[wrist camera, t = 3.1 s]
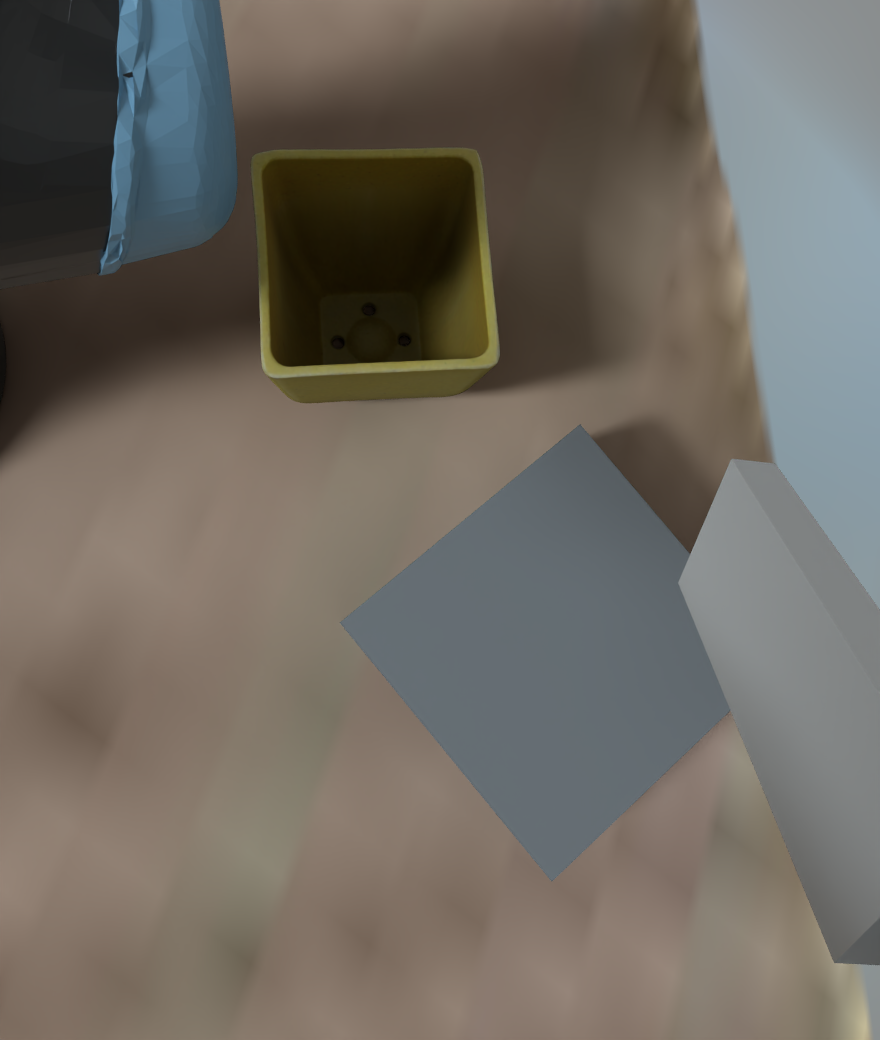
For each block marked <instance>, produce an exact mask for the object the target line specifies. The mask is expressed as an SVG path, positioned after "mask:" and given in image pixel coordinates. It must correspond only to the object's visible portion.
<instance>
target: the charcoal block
mask: <svg viewBox="0 0 880 1040" xmlns="http://www.w3.org/2000/svg"><path fill="white" fill-rule="evenodd" d="M689 556H690V554H689V552H688V551H687V550H686V549H685V548H684V546H683V545H682V544H681V543H680V542H679V541H678V539H677V538H676V537H675V536H674V535H673V534H672V532H671V531H670V530H669V529H668V528H667V526H666V525H665V524H664V523H663V522H662V521H661V519H660V518H659V517H658V516H657V515H656V513H655V512H654V511H653V510H652V509H651V508H650V506H649V505H648V504H647V503H646V502H645V500H644V499H643V498H642V497H641V496H640V495H639V493H638V492H637V491H636V490H635V489H634V487H633V486H632V485H631V484H630V483H629V482H628V480H627V479H626V478H625V477H624V476H623V474H622V473H621V472H620V471H619V470H618V469H617V467H616V466H615V465H614V464H613V463H612V461H611V460H610V459H609V458H608V457H607V456H606V454H605V453H604V452H603V451H602V450H601V448H600V447H599V446H598V445H597V444H596V443H595V441H594V440H593V439H592V438H591V437H590V435H589V434H588V433H587V432H586V431H585V430H584V428H583V427H582V426H581V425H579V426H577V427H576V428H575V429H574V430H573V431H571V432H570V433H569V434H568V435H566V436H565V437H564V438H563V439H562V440H560V441H559V442H558V443H557V444H556V445H554V446H553V447H552V448H551V449H550V450H548V451H547V452H546V453H545V454H543V455H542V456H541V457H540V458H539V459H537V460H536V461H535V462H534V463H533V464H531V465H530V466H529V467H528V468H527V469H525V470H524V471H523V472H522V473H520V474H519V475H518V476H517V477H516V478H514V479H513V480H512V481H511V482H510V483H508V484H507V485H506V486H505V487H504V488H502V489H501V490H500V491H499V492H497V493H496V494H495V495H494V496H493V497H491V498H490V499H489V500H488V501H487V502H485V503H484V504H483V505H482V506H481V507H479V508H478V509H477V510H476V511H474V512H473V513H472V514H471V515H470V516H468V517H467V518H466V519H465V520H464V521H462V522H461V523H460V524H459V525H458V526H456V527H455V528H454V529H453V530H451V531H450V532H449V533H448V534H447V535H445V536H444V537H443V538H442V539H441V540H439V541H438V542H437V543H436V544H435V545H433V546H432V547H431V548H430V549H428V550H427V551H426V552H425V553H424V554H422V555H421V556H420V557H419V558H418V559H416V560H415V561H414V562H413V563H412V564H410V565H409V566H408V567H407V568H405V569H404V570H403V571H402V572H401V573H399V574H398V575H397V576H396V577H395V578H393V579H392V580H391V581H390V582H389V583H387V584H386V585H385V586H384V587H382V588H381V589H380V590H379V591H378V592H376V593H375V594H374V595H373V596H372V597H370V598H369V599H368V600H367V601H366V602H364V603H363V604H362V605H361V606H359V607H358V608H357V609H356V610H355V611H353V612H352V613H351V614H350V615H349V616H347V617H346V618H345V619H344V620H342V621H341V622H340V623H341V625H342V626H343V627H344V628H345V630H346V631H347V632H348V633H349V634H350V636H351V637H352V638H353V639H354V641H355V642H356V643H357V644H358V645H359V647H360V648H361V649H362V650H363V652H364V653H365V654H366V655H367V656H368V658H369V659H370V660H371V661H372V663H373V664H374V665H375V666H376V667H377V669H378V670H379V671H380V672H381V674H382V675H383V676H384V677H385V678H386V680H387V681H388V682H389V683H390V685H391V686H392V687H393V688H394V689H395V691H396V692H397V693H398V694H399V696H400V697H401V698H402V699H403V700H404V702H405V703H406V704H407V705H408V707H409V708H410V709H411V710H412V711H413V713H414V714H415V715H416V716H417V718H418V719H419V720H420V721H421V722H422V724H423V725H424V726H425V727H426V729H427V730H428V731H429V732H430V733H431V735H432V736H433V737H434V738H435V740H436V741H437V742H438V743H439V744H440V746H441V747H442V748H443V749H444V751H445V752H446V753H447V754H448V755H449V757H450V758H451V759H452V760H453V762H454V763H455V764H456V765H457V766H458V768H459V769H460V770H461V771H462V773H463V774H464V775H465V776H466V777H467V779H468V780H469V781H470V782H471V784H472V785H473V786H474V787H475V788H476V790H477V791H478V792H479V793H480V795H481V796H482V797H483V798H484V799H485V801H486V802H487V803H488V804H489V806H490V807H491V808H492V809H493V810H494V812H495V813H496V814H497V815H498V817H499V818H500V819H501V820H502V821H503V823H504V824H505V825H506V826H507V828H508V829H509V830H510V831H511V832H512V834H513V835H514V836H515V837H516V839H517V840H518V841H519V842H520V843H521V845H522V846H523V847H524V848H525V850H526V851H527V852H528V853H529V854H530V856H531V857H532V858H533V859H534V861H535V862H536V863H537V864H538V865H539V867H540V868H541V869H542V870H543V872H544V873H545V874H546V875H547V876H548V878H549V879H550V880H551V881H553V880H554V879H555V878H556V877H557V876H558V875H559V874H560V873H561V872H562V871H563V870H564V869H565V868H567V867H568V866H569V865H570V864H571V863H572V862H573V861H574V860H575V859H576V858H577V857H578V856H579V855H580V854H581V853H582V852H583V851H584V850H585V849H586V848H587V847H588V846H589V845H590V844H592V843H593V842H594V841H595V840H596V839H597V838H598V837H599V836H600V835H601V834H602V833H603V832H604V831H605V830H606V829H607V828H608V827H609V826H610V825H611V824H612V823H613V822H614V821H616V820H617V819H618V818H619V817H620V816H621V815H622V814H623V813H624V812H625V811H626V810H627V809H628V808H629V807H630V806H631V805H632V804H633V803H634V802H635V801H636V800H637V799H638V798H639V797H641V796H642V795H643V794H644V793H645V792H646V791H647V790H648V789H649V788H650V787H651V786H652V785H653V784H654V783H655V782H656V781H657V780H658V779H659V778H660V777H661V776H662V775H663V774H664V773H666V772H667V771H668V770H669V769H670V768H671V767H672V766H673V765H674V764H675V763H676V762H677V761H678V760H679V759H680V758H681V757H682V756H683V755H684V754H685V753H686V752H687V751H688V750H690V749H691V748H692V747H693V746H694V745H695V744H696V743H697V742H698V741H699V740H700V739H701V738H702V737H703V736H704V735H705V734H706V733H707V732H708V731H709V730H710V729H711V728H712V727H713V726H715V725H716V724H717V723H718V722H719V721H720V720H721V719H722V718H723V717H724V716H725V715H726V714H727V713H728V712H729V711H730V708H729V706H728V703H727V701H726V698H725V696H724V693H723V691H722V689H721V686H720V684H719V681H718V679H717V676H716V674H715V671H714V669H713V667H712V664H711V662H710V659H709V657H708V654H707V652H706V650H705V647H704V645H703V642H702V640H701V637H700V635H699V633H698V630H697V628H696V625H695V623H694V620H693V618H692V616H691V613H690V611H689V608H688V606H687V603H686V601H685V598H684V596H683V594H682V591H681V589H680V586H679V584H678V582H679V580H680V577H681V575H682V573H683V570H684V568H685V566H686V563H687V561H688V559H689Z"/></svg>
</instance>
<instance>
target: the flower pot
mask: <svg viewBox="0 0 880 1040" xmlns="http://www.w3.org/2000/svg"><path fill="white" fill-rule="evenodd" d="M250 167H251V181H252V193H253V202H254V213H255V228H256V240H257V253H258V276H259V307H260V333H261V362H262V368H263V371H264V373H265V374H266V375H267V376H268V377H269V378H270V379H271V381H272V382H273V383H274V384H275V385H276V386H277V387H278V388H279V389H280V390H281V391H282V392H283V393H284V394H285V395H286V396H287V397H289V398H290V399H292V400H294V401H296V402H300V403H323V402H338V401H355V400H374V399H396V398H420V397H446V396H453V395H457V394H460V393H462V392H464V391H466V390H467V389H468V388H470V387H471V386H472V385H473V384H475V383H476V382H477V381H478V380H479V379H480V378H482V377H483V376H484V375H485V374H486V373H487V372H488V371H489V370H491V369H492V368H493V367H494V366H495V365H496V364H497V363H498V361H499V357H500V346H499V335H498V325H497V315H496V305H495V296H494V287H493V277H492V265H491V254H490V246H489V235H488V224H487V213H486V199H485V186H484V176H483V169H482V163H481V159H480V157H479V154H478V152H477V151H476V150H474V149H470V148H451V147H445V148H412V149H357V150H354V149H348V150H329V149H307V150H304V149H294V150H285V149H281V150H271V151H266V152H261V153H257V154H255V155H253V157H252V159H251V164H250ZM368 305H370V306H372V307H374V309H375V312H374V314H373V315H371V316H368V315H365V314H364V312H363V309H364V307H365V306H368ZM403 335H405V336H407V337H409V339H410V343H409V345H407V346H402V345H401V344H400V343H399V338H400V337H401V336H403ZM336 338H341V339H342V340H343V341H344V346H343V347H342V348H340V349H337V348H334V347H333V344H332V342H333V340H334V339H336Z"/></svg>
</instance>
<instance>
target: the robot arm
mask: <svg viewBox="0 0 880 1040" xmlns="http://www.w3.org/2000/svg"><path fill="white" fill-rule="evenodd" d="M237 177H238V173H237V155H236V139H235V127H234V117H233V107H232V96H231V87H230V79H229V70H228V62H227V54H226V46H225V38H224V30H223V22H222V16H221V9H220V2H219V0H0V289H4V288H10V287H16V286H22V285H28V284H34V283H40V282H46V281H53V280H59V279H65V278H71V277H77V276H83V275H89V274H95V273H97V274H98V275H99V276H100V275H107V274H109V273H115V272H116V271H117V270H118V269H119V268H120V267H121V265H123V264H127V263H131V262H135V261H140V260H144V259H148V258H152V257H156V256H160V255H164V254H168V253H172V252H176V251H180V250H184V249H188V248H192V247H196V246H199V245H201V244H202V243H204V242H206V241H207V240H209V239H211V238H212V237H213V235H214V234H215V233H217V232H218V231H219V230H221V229H222V228H223V227H224V225H225V224H226V223H227V221H228V219H229V217H230V215H231V213H232V211H233V209H234V205H235V201H236V193H237ZM5 373H6V353H5V343H4V336H3V332H2V328H1V324H0V402H1V398H2V394H3V389H4V383H5ZM678 584H679V586H680V589H681V591H682V594H683V596H684V598H685V601H686V603H687V606H688V608H689V611H690V613H691V616H692V618H693V620H694V623H695V625H696V628H697V630H698V633H699V635H700V637H701V640H702V642H703V645H704V647H705V650H706V652H707V654H708V657H709V659H710V662H711V664H712V667H713V669H714V671H715V674H716V676H717V679H718V681H719V684H720V686H721V689H722V691H723V693H724V696H725V698H726V701H727V703H728V706H729V708H730V710H731V713H732V715H733V718H734V720H735V723H736V725H737V727H738V730H739V732H740V735H741V737H742V740H743V742H744V744H745V747H746V749H747V752H748V754H749V757H750V759H751V762H752V764H753V766H754V769H755V771H756V774H757V776H758V779H759V781H760V783H761V786H762V788H763V791H764V793H765V796H766V798H767V800H768V803H769V805H770V808H771V810H772V813H773V815H774V818H775V820H776V822H777V825H778V827H779V830H780V832H781V835H782V837H783V839H784V842H785V844H786V847H787V849H788V852H789V854H790V856H791V859H792V861H793V864H794V866H795V869H796V871H797V873H798V876H799V878H800V881H801V883H802V886H803V888H804V891H805V893H806V895H807V898H808V900H809V903H810V905H811V908H812V910H813V912H814V915H815V917H816V920H817V922H818V925H819V927H820V929H821V932H822V934H823V937H824V939H825V942H826V944H827V946H828V949H829V951H830V954H831V956H832V959H833V961H834V963H847V964H867V965H880V610H879V608H878V607H877V606H876V604H875V603H874V601H873V600H872V598H871V597H870V596H869V595H868V593H867V592H866V590H865V589H864V587H863V586H862V584H861V583H860V582H859V580H858V579H857V577H856V576H855V575H854V573H853V572H852V570H851V569H850V568H849V566H848V565H847V563H846V562H845V561H844V559H843V558H842V556H841V555H840V554H839V552H838V551H837V549H836V548H835V547H834V545H833V544H832V542H831V541H830V540H829V538H828V537H827V535H826V534H825V533H824V531H823V530H822V528H821V527H820V526H819V524H818V523H817V521H816V520H815V519H814V517H813V516H812V515H811V513H810V512H809V510H808V509H807V507H806V506H805V505H804V503H803V502H802V501H801V499H800V498H799V496H798V495H797V494H796V492H795V491H794V489H793V488H792V486H791V485H790V484H789V482H788V481H787V479H786V478H785V477H784V475H783V474H782V472H781V471H780V470H779V468H778V467H777V465H776V464H775V463H766V462H757V461H748V460H739V459H731V461H730V463H729V465H728V468H727V470H726V472H725V475H724V477H723V479H722V482H721V484H720V486H719V489H718V491H717V493H716V496H715V498H714V500H713V503H712V505H711V507H710V510H709V512H708V514H707V517H706V519H705V521H704V524H703V526H702V528H701V531H700V533H699V535H698V538H697V540H696V542H695V545H694V547H693V549H692V552H691V554H690V556H689V559H688V561H687V563H686V566H685V568H684V570H683V573H682V575H681V577H680V580H679V582H678Z"/></svg>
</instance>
